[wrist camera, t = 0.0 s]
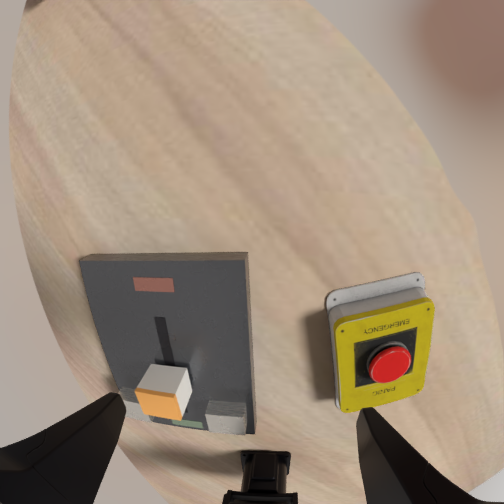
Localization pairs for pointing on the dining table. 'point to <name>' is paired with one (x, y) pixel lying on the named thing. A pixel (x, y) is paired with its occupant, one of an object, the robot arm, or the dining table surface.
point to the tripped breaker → (164, 391)
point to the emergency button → (380, 340)
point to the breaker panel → (178, 330)
